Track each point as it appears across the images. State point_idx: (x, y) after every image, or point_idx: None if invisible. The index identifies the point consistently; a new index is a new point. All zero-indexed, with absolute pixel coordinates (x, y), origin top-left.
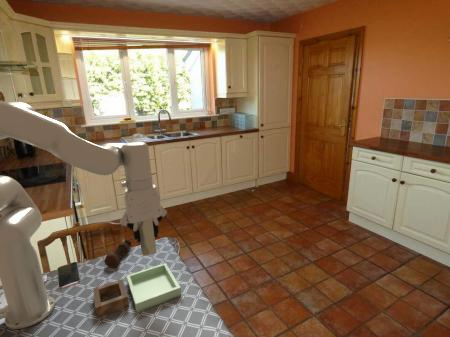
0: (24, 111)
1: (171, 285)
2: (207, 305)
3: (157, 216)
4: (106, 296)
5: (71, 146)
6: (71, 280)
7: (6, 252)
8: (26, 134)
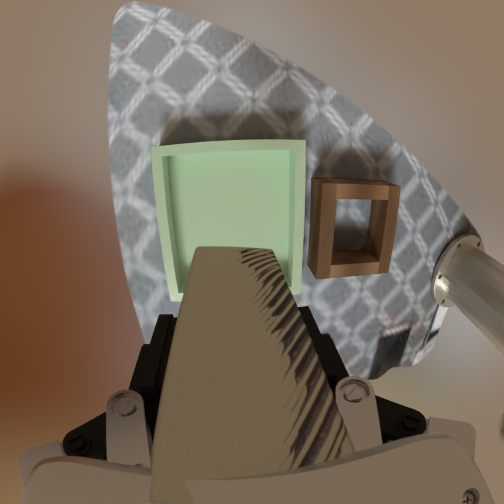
0: None
1: (175, 200)
2: (110, 79)
3: (72, 468)
4: (353, 250)
5: None
6: (391, 339)
7: None
8: None
